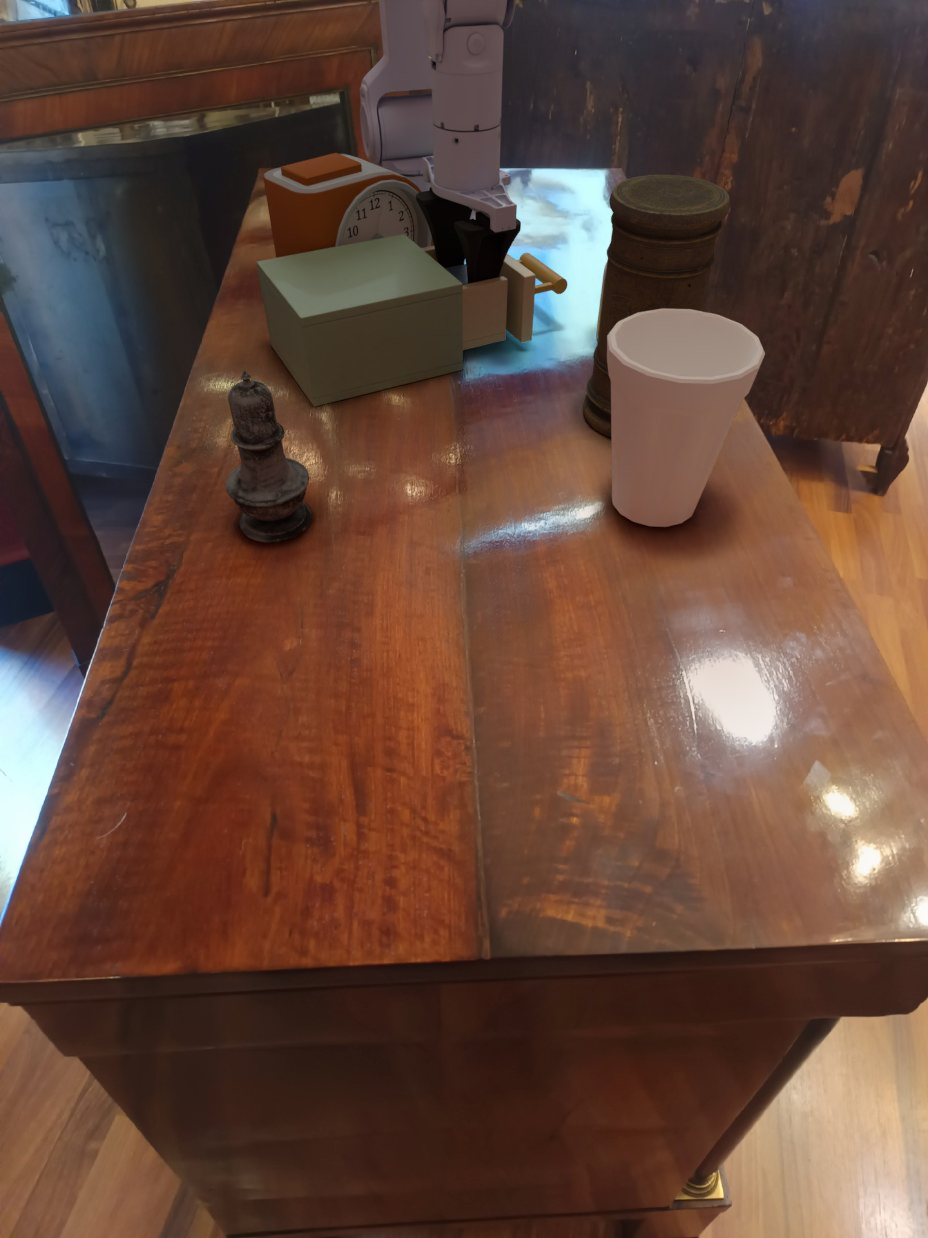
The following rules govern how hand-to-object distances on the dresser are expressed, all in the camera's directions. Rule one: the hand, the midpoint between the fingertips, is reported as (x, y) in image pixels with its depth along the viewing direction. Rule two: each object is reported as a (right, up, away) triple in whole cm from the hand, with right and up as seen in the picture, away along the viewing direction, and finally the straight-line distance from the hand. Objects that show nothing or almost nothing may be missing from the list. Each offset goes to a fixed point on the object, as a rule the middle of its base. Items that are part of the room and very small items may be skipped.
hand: (466, 284), depth 78 cm
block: (0, -2, +2) cm, 3 cm away
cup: (+14, -23, -16) cm, 31 cm away
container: (+14, -14, -7) cm, 22 cm away
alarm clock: (-11, +2, +9) cm, 15 cm away
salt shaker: (-14, -25, -17) cm, 33 cm away
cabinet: (-10, -7, 0) cm, 12 cm away
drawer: (0, -3, +3) cm, 4 cm away
